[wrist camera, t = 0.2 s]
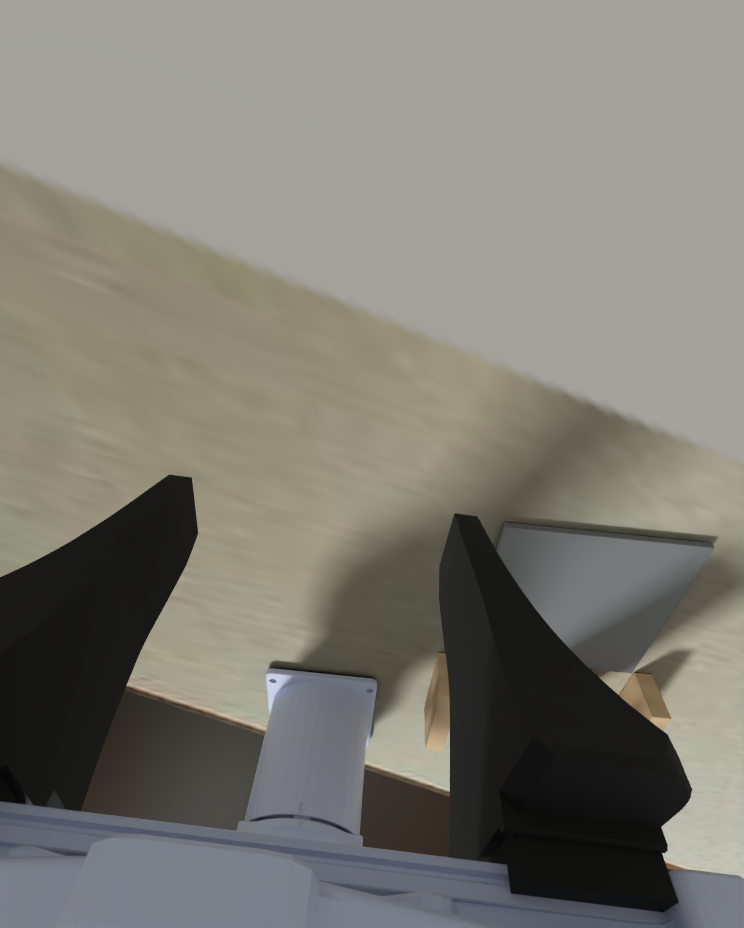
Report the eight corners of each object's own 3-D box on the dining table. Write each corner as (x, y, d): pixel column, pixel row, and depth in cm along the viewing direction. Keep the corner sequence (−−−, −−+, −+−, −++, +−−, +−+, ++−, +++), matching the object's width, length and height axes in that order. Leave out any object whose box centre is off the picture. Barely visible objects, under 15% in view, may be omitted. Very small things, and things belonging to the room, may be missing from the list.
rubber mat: (629, 667, 33) (631, 673, 32) (464, 650, 33) (465, 656, 32) (710, 542, 26) (714, 548, 26) (504, 522, 26) (505, 527, 26)
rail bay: (614, 727, 37) (629, 770, 35) (424, 707, 37) (425, 749, 35) (652, 674, 33) (671, 719, 30) (438, 652, 33) (440, 695, 31)
